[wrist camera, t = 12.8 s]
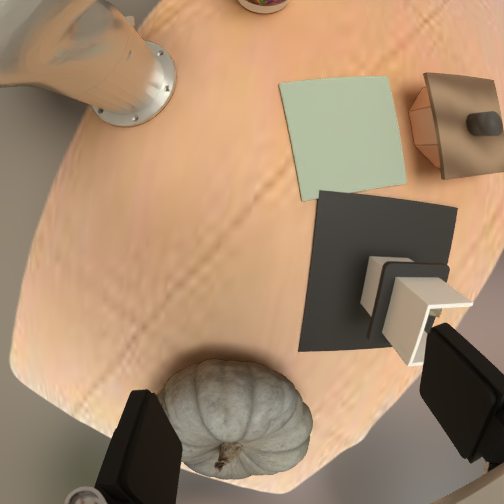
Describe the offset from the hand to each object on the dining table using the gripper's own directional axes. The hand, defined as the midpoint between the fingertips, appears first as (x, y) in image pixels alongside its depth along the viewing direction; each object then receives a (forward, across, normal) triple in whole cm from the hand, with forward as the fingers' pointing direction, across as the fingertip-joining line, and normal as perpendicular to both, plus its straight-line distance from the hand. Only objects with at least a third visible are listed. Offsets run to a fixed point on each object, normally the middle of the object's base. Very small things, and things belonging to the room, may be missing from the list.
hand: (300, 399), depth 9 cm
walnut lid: (+26, -32, -9) cm, 42 cm away
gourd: (+34, +9, +29) cm, 45 cm away
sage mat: (+33, -15, -9) cm, 38 cm away
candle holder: (+33, -18, +13) cm, 40 cm away
